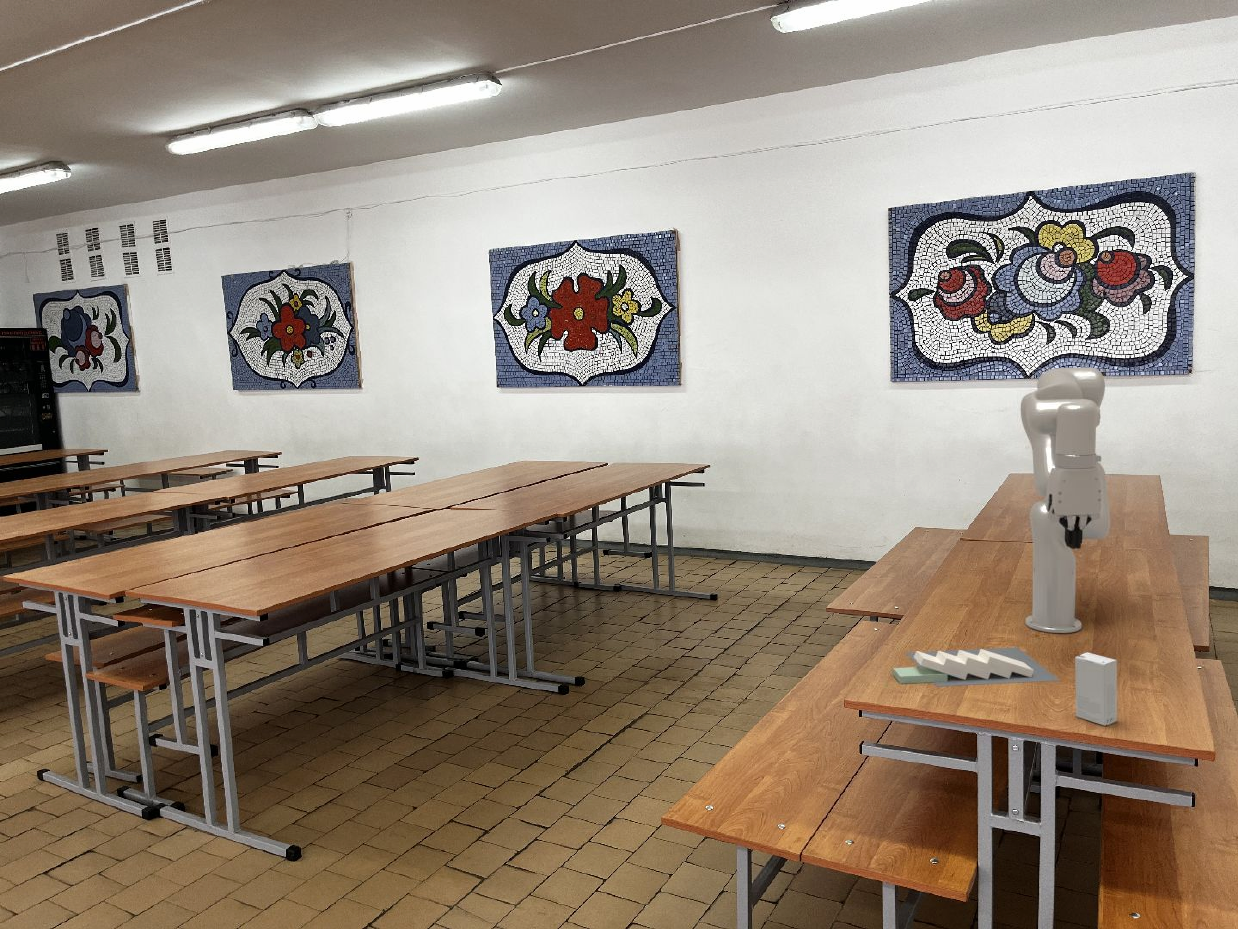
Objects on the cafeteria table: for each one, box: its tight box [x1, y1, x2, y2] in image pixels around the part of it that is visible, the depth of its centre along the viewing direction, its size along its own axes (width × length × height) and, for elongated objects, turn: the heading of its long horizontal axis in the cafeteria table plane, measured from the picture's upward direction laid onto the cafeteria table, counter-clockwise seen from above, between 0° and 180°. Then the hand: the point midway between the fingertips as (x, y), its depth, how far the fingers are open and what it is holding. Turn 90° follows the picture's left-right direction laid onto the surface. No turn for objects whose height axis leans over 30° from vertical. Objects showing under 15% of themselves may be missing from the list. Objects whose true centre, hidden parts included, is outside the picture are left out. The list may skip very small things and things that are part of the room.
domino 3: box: [957, 649, 1012, 678], centre depth 200 cm, size 2×5×10 cm
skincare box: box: [1074, 652, 1118, 727], centre depth 176 cm, size 6×4×12 cm
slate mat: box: [905, 646, 1062, 688], centre depth 206 cm, size 26×21×1 cm
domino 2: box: [936, 650, 990, 679], centre depth 200 cm, size 2×5×10 cm
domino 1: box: [914, 650, 968, 680], centre depth 200 cm, size 2×5×10 cm
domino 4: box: [978, 648, 1034, 677], centre depth 200 cm, size 2×5×10 cm
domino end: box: [892, 666, 947, 685], centre depth 200 cm, size 2×5×10 cm
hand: (1073, 547), depth 199 cm, fingers closed
